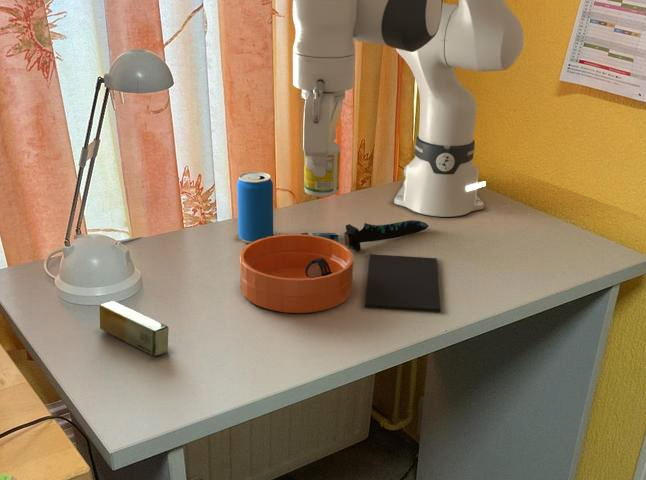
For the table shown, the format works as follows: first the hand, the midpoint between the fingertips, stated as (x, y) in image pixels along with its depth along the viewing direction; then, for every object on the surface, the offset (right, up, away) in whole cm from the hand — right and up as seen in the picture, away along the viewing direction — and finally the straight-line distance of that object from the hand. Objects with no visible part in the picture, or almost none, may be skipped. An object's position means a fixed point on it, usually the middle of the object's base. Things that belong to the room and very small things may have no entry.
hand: (322, 167), depth 121 cm
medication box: (-27, -27, -6) cm, 38 cm away
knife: (+8, -8, +27) cm, 30 cm away
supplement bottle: (0, -3, +2) cm, 4 cm away
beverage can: (-13, -7, +28) cm, 32 cm away
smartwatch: (-1, -18, +10) cm, 20 cm away
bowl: (-5, -17, +10) cm, 21 cm away
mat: (+13, -16, +14) cm, 25 cm away
